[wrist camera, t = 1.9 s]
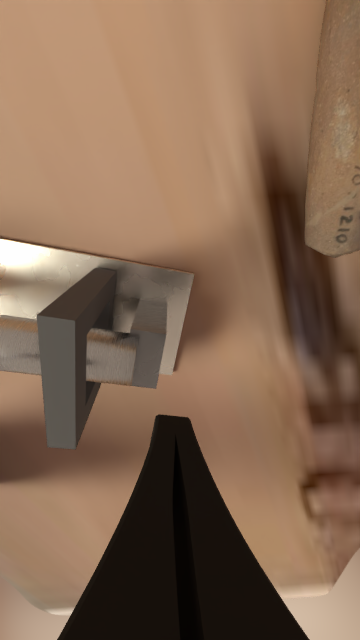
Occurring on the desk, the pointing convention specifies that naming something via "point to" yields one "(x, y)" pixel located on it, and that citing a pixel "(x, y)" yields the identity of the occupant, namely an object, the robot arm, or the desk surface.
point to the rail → (102, 345)
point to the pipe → (335, 136)
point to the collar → (72, 354)
